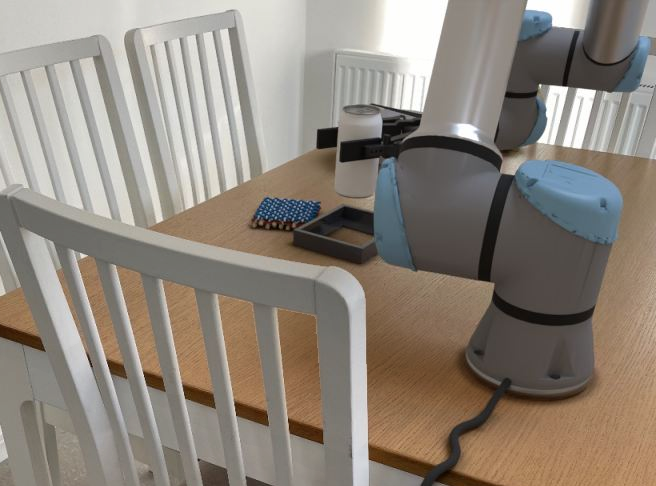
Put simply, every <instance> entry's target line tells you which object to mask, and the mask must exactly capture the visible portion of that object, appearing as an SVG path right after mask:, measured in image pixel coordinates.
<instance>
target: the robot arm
mask: <svg viewBox="0 0 656 486" xmlns="http://www.w3.org/2000/svg"><path fill="white" fill-rule="evenodd" d="M528 1H529V0H448V1H447V5H446V9H445V13H444V18H443V23H442V26H441V30H440V34H439V39H438V45H437V48H436V52H435V56H434V61H433V65H432V66H433V67H432V69H431V70H432V71H431V75H430V79H429V83H428V87H427V92H426V95H425V101H424V105H423V109H422V112H423V113H422V118H413V119H405V118H406V116H405V115H398V116H394V117H386V118H382V133H381V138H380V137H376V138H368V139H360V140H351V141H343V142H340V156H339V162H341V163H344V162H352V161H359V160H367V159H374V158H380V156H382V158H384V159H385V160H384V161H383V163H382V164H381V166H380V169H379V170H378V175H377V183H376V191H375V193H374V201H373V202H374V204H373V211H374V235H373V236H374V238H375V244H376V248H377V251H378V254H377V255H378V256H379V257H380V259H381V260H382V261H383V262H384V263H386V264H388V265H391V266H395V267H399V268H403V269H408V270H411V271H412V272H415V273H417V272H419V271H420V272H427V273H433V274H439V275H444V276H451V277H455V278H462V279H468V280H472V281H478V282H486V283H491V284H493V291H492V295H491V301H490V303H489V305H488V307H487V308H486V310H485V311H484V313H483V315H482V317H481V319H480V321H479V322H478V324H477V325H476V327H475V329H474V331H473V333H472V334H471V336H470V338H469V340H468V342H467V346H466V350H465V354H464V360H463V361H464V366H465V368H466V370H467V372H468V373H469V374H470V375H471V376H472V377H473V378H474V379H475V380H476V381H478V382H479V383H481V384H482V385H483V386H486V387H488V388H489V389H492V390H494V392H493V394H492V395H491V397H490V398H489V400H488V402H487V403H486V405H485V406H484V408H483V409H482V410H481V412H480V413H479V414H478V415H476V416H475V417H473V418H470V419H468V420H465V421H462V422H460V423H458V424H457V425H455V426H454V427H453V428H452V429H451V431H450V433H449V436H448V442H449V446H450V451H451V452H450V456H449V457H448V458H447V459H446V460H444V461H442V462H440V463H438V464H436V465H434V466H433V468H431V469H430V470H429V471H428V472H427V473H426V475H425V476H424V478H423V480H422V482H421V483H420V486H432V485H433V484H434V483H435V481H436V480H437V478H439V476H440V475H442V474H443V473H445V472H447V471H449V470H451V469H452V468H453V467H455V466H456V465H457V463H458V462H459V460H460V459H461V455H462V450H461V446H460V441H459V437H460V435H461V434H462V433H464V432H466V431H468V430H471V429H473V428H476V427H478V426H480V425H482V424H483V423H485V421H487V420H488V419H489V418H490V416H491V415H492V413H493V412H494V410H495V408H496V406H497V405H498V403H499V402H500V400H501V399H502V398H503V396H504V395H509V396H511V397H517V398H520V399H528V400H538V401H546V400H547V401H549V400H558V399H559V400H560V399H565V398H569V397H573V396H576V395H578V394H580V393H581V392H583V391H584V390H585V389H586V388H587V387H588V386H589V384H590V382H591V380H592V377H593V373H594V370H595V348H594V347H595V346H594V331H593V316H594V313H595V309H596V306H597V302H598V299H599V296H600V291H601V288H602V286H603V285H602V284H603V281H604V277H605V273H606V269H607V266H608V263H609V260H610V254H611V253H612V248H613V244H614V243H616V241H617V239H618V237H619V225H620V222H621V221H620V220H621V217H622V216H621V215H622V211H623V207H624V199H623V196H622V195H623V194H622V193H621V191H620V190H619V188H618V186H616V185H615V184H614V183H613V182H612V181H611V180H609V179H608V178H606V177H605V176H603V175H602V174H599V173H597V172H596V171H594V170H591V169H588V168H587V167H583V166H580V165H576V164H573V163H569V162H564V161H559V160H553V159H545V160H541V159H531V160H527V161H524V162H521V164H520V165H519V166H518V168H517V169H516V170H515V172H514V174H511V173H510V174H508V173H502V172H501V169H502V164H503V161H504V158H503V157H504V156H503V154H502V152H501V151H506V150H505V149H509V150H516V149H518V148H524V147H527V146H531V145H533V144H535V143H537V142H538V141H539V140H540V139H541V138H542V136H543V134H544V133H545V131H546V128H547V125H548V116H547V105H546V104H545V101H544V102H543V101H542V99H541V98H539V97H537V93H538V87H539V86H540V85H543V86H553V87H563V88H572V89H580V90H581V89H582V90H590V91H597V92H598V91H599V92H606V93H609V94H612V93H628V94H629V93H630V94H631V93H634V92H635V91H637V90H638V88H639V87H640V86H641V82H642V78H643V75H644V71H645V68H646V64H647V61H648V57H649V54H650V53H649V52H650V49H651V46H652V45H651V44H652V42H651V39H650V38H649V37H647V36H642V35H641V33H642V28H643V24H644V21H645V17H646V13H647V10H648V6H649V2H650V0H589V2H588V7H587V12H586V17H585V18H586V19H585V24H584V30H575V29H565V28H556V27H553V16H552V14H551V13H549V12H547V11H544V10H542V11H541V10H536V9H527V5H528ZM337 140H338V126H333V127H324V128H317V129H316V144H315V149H317V150H324V149H325V150H326V149H333V148H337ZM381 142H383V143H381ZM388 158H390V159H388Z"/></svg>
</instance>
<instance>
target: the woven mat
mask: <svg viewBox="0 0 656 486" xmlns="http://www.w3.org/2000/svg"><path fill="white" fill-rule="evenodd" d="M321 205H322V201H320V200H319V201H315V200H312V199H310V200H306V201H305V200H304V199H300V200H299V199H294V198H291V199H290V198H287V197H285V198H279V197H269V196H267V197H263V199H262V201H261V202H260V204H259V205H258V208H257V209H256V211H255V213H254V214H253V215H252V218H251V222H252V228H253V229H255V228H256V227H257V226H258V225H259V226H262V227H263V226H265V227H264V228H265V229H266V230H269V229H270V227H271V226H272V227H273V228H277V227H278V228H279V230H283V228H284V226H285V225H286V227H285V231H290V229H291V228H292V230H294V229H296V228H298V227H300V226H302V225H304V224H306V223H307V222H309V221H311V220H313V219H315V218H317V217H319V214H320V211H321V210H322V206H321Z"/></svg>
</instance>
